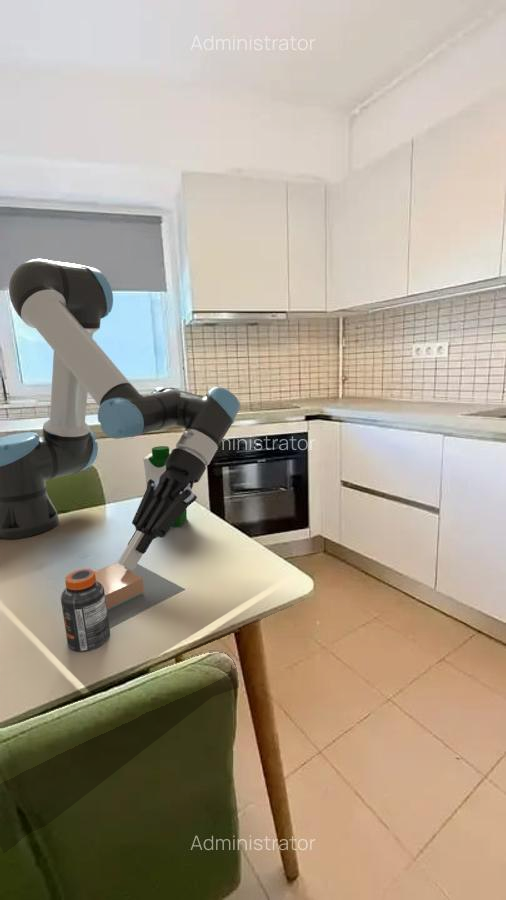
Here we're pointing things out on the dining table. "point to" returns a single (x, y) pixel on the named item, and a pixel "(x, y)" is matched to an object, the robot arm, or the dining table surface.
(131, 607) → the mat
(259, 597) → the dining table surface
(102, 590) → the pill bottle
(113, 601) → the tile
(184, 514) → the milk carton
